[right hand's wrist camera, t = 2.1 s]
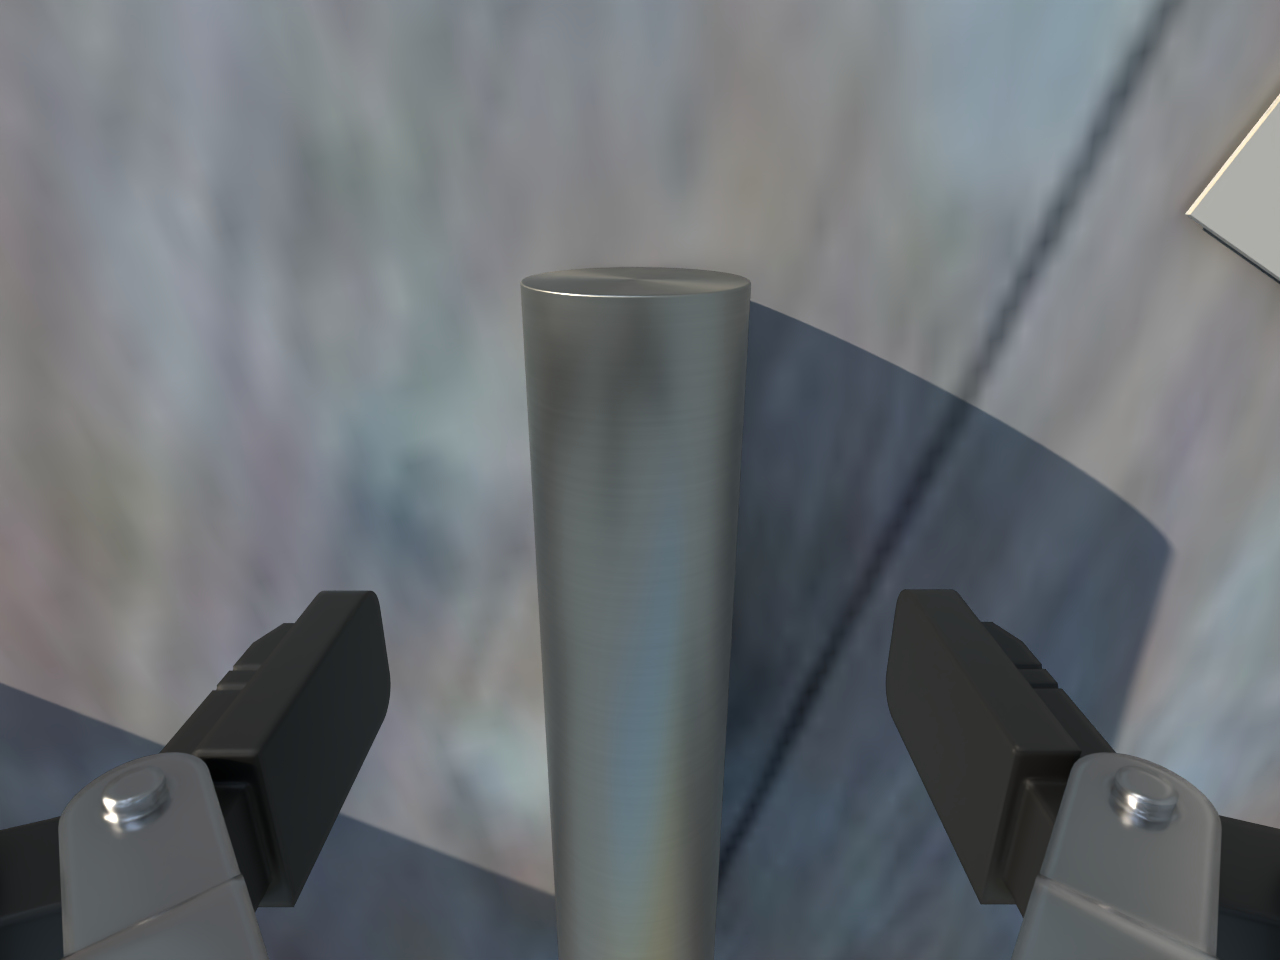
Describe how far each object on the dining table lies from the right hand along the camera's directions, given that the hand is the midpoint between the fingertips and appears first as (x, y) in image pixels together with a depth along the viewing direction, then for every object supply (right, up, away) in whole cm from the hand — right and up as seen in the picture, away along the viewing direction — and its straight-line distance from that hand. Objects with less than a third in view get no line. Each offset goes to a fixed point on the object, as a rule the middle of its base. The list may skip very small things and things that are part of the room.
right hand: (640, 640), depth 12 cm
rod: (0, -4, +15) cm, 15 cm away
